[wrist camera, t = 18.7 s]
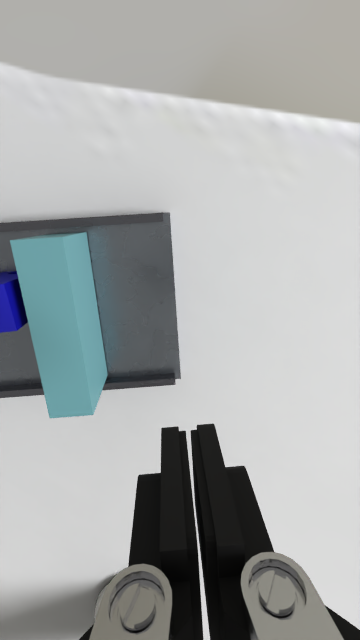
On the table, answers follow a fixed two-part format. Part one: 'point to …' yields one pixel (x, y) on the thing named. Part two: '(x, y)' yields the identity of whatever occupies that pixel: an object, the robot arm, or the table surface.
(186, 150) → the table surface
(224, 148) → the table surface
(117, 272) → the vise base
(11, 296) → the blue curved block
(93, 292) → the block
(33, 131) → the table surface
